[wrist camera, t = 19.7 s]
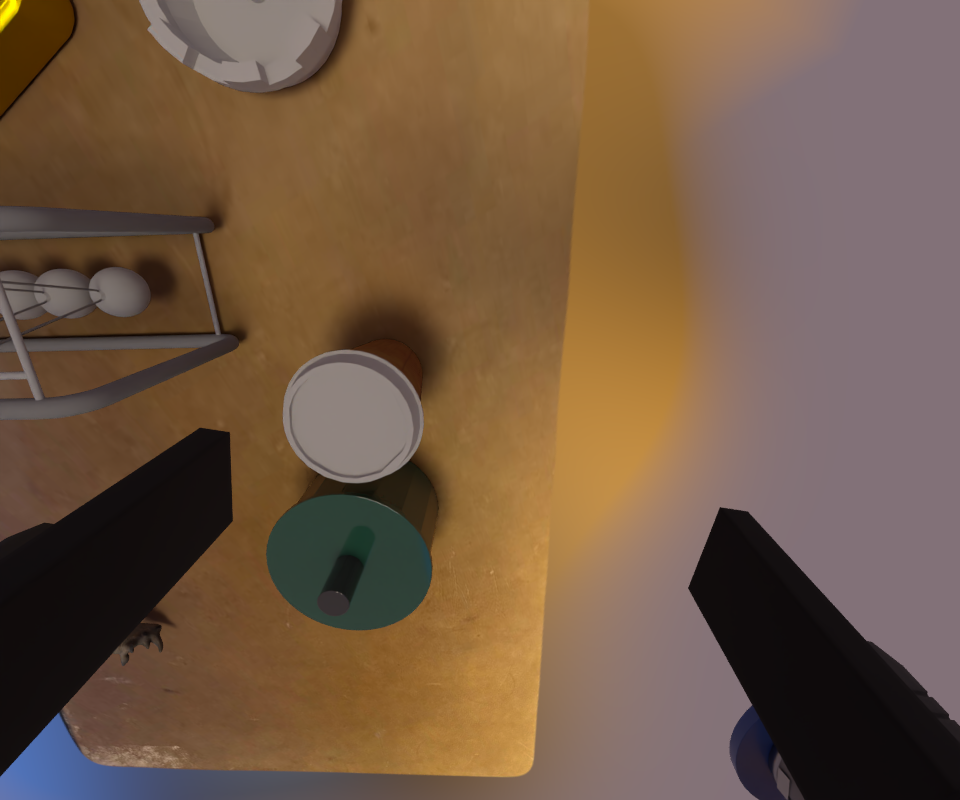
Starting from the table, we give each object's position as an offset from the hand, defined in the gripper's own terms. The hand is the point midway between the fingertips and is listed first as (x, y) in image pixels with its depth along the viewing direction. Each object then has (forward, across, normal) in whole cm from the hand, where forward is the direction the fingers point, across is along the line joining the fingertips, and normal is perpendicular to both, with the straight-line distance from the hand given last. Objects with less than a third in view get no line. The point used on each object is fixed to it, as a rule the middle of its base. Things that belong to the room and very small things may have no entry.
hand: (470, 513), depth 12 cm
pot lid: (+20, -8, -20) cm, 30 cm away
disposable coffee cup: (+29, -8, -6) cm, 31 cm away
